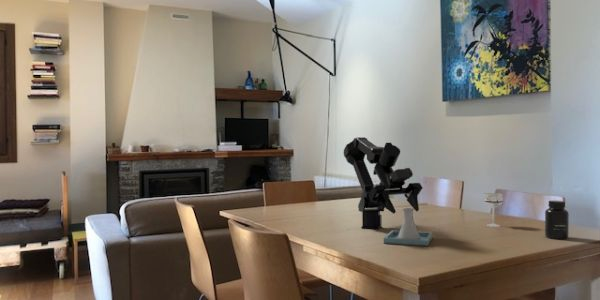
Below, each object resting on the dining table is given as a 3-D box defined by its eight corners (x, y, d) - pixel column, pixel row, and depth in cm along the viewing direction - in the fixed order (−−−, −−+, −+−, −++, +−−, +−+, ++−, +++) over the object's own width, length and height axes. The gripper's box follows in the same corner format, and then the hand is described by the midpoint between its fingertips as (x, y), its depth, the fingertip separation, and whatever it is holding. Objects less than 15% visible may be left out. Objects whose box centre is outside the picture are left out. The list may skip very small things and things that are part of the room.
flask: (412, 242, 148) (412, 211, 148) (393, 239, 153) (392, 209, 153) (424, 239, 153) (424, 208, 153) (405, 236, 158) (404, 206, 158)
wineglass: (499, 224, 181) (499, 192, 180) (505, 227, 174) (505, 194, 174) (481, 224, 181) (481, 193, 181) (486, 227, 174) (486, 195, 174)
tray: (383, 243, 149) (383, 237, 149) (391, 235, 162) (391, 230, 162) (427, 246, 144) (427, 240, 144) (432, 237, 157) (432, 232, 157)
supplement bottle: (560, 240, 149) (559, 203, 149) (540, 237, 155) (540, 200, 155) (573, 238, 152) (573, 201, 152) (553, 234, 158) (553, 199, 158)
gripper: (372, 161, 155) (392, 198, 145) (419, 159, 162) (440, 194, 152) (360, 183, 162) (378, 219, 152) (405, 180, 169) (425, 215, 159)
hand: (406, 211), depth 154 cm, fingers open, 9 cm apart
